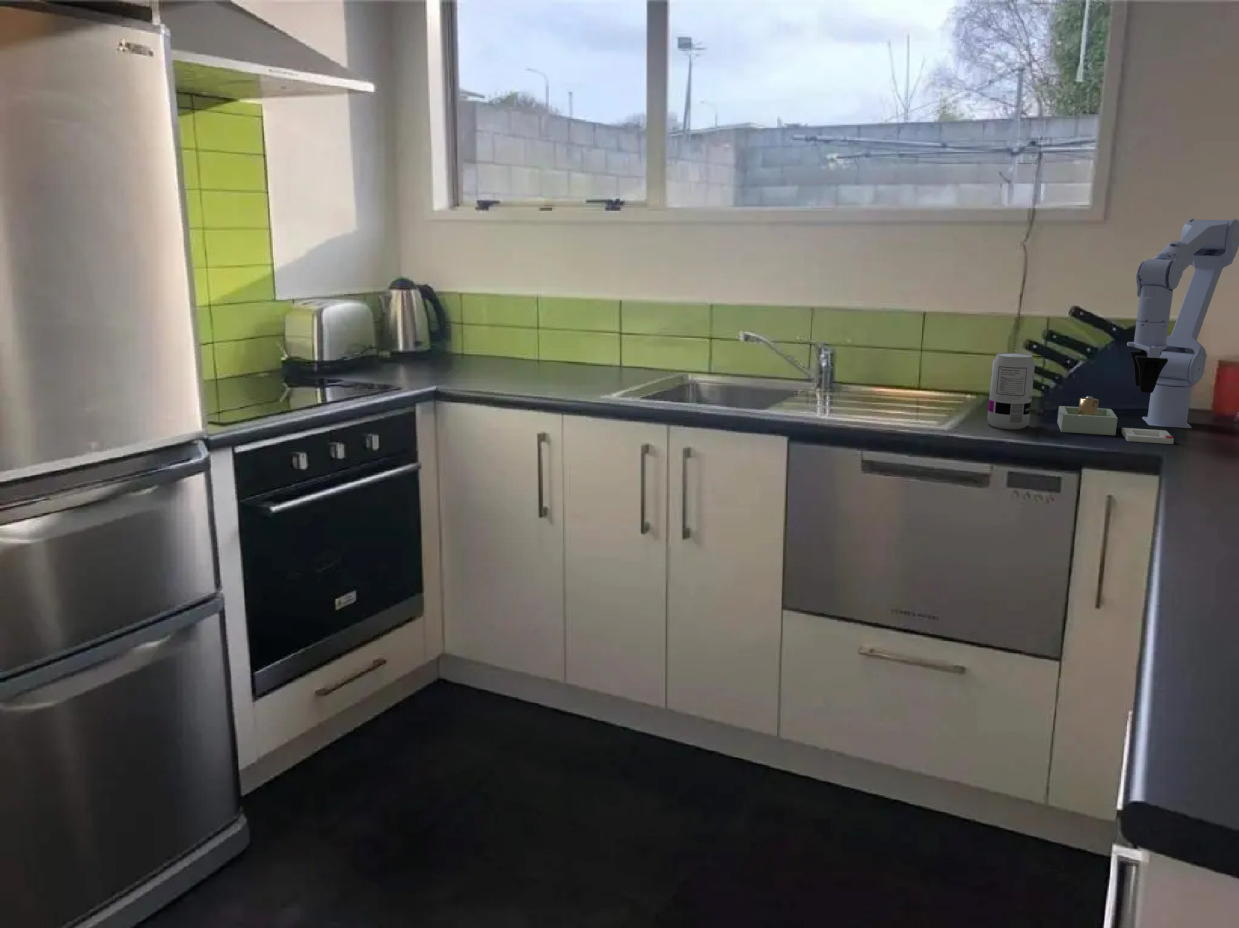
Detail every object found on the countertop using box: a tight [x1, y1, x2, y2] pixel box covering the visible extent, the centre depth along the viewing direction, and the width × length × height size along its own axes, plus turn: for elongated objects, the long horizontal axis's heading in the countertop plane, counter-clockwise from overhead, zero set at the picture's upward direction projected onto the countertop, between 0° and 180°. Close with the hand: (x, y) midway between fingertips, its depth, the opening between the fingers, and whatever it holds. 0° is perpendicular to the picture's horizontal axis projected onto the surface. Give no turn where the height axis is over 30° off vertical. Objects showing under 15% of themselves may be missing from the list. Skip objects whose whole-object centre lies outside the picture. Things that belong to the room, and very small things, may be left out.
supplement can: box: [986, 352, 1036, 430], centre depth 210 cm, size 8×8×15 cm
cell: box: [1078, 396, 1100, 416], centre depth 207 cm, size 4×4×6 cm
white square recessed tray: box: [1121, 427, 1175, 445], centre depth 199 cm, size 8×8×2 cm
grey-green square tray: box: [1056, 405, 1118, 436], centre depth 207 cm, size 10×10×4 cm
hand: (1144, 389), depth 202 cm, fingers open, 7 cm apart
